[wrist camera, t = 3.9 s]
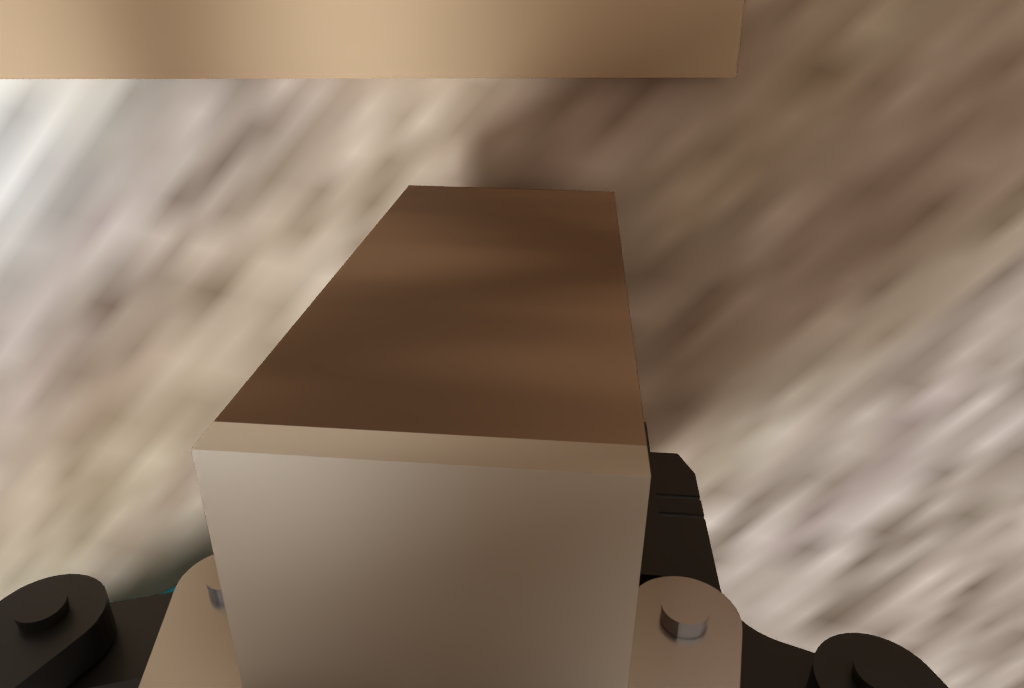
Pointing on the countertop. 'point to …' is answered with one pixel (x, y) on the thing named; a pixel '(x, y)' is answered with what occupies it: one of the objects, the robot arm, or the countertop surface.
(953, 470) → the countertop surface
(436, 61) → the wooden board
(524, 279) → the brown wooden block
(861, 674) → the robot arm
